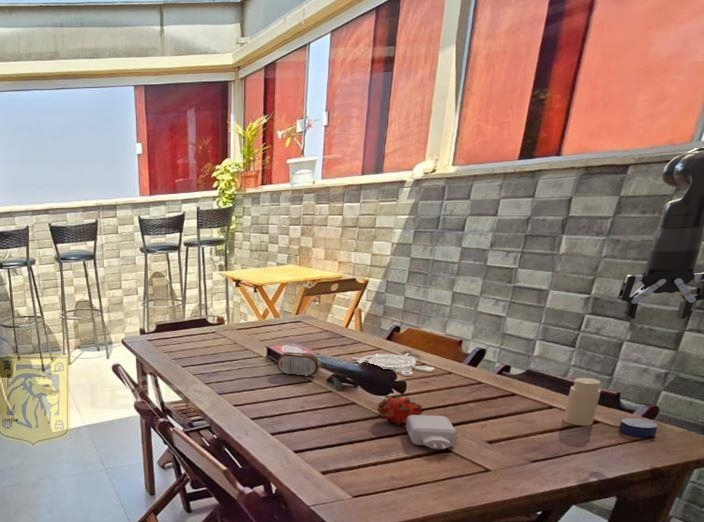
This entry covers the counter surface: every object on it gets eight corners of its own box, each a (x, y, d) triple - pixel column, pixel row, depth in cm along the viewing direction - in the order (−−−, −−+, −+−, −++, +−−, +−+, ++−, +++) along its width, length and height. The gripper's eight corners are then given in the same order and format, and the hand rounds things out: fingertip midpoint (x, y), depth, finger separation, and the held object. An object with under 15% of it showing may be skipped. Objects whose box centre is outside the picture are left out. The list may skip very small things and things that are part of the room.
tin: (319, 375, 181) (320, 353, 178) (316, 378, 179) (317, 356, 176) (278, 371, 190) (279, 351, 187) (276, 374, 188) (276, 353, 185)
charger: (416, 455, 119) (405, 430, 132) (461, 458, 116) (445, 432, 129) (418, 438, 118) (407, 414, 131) (464, 440, 114) (448, 416, 127)
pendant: (404, 352, 195) (404, 349, 195) (442, 373, 169) (442, 370, 169) (348, 357, 198) (348, 353, 198) (376, 378, 172) (377, 374, 172)
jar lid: (630, 437, 117) (633, 428, 116) (612, 427, 122) (614, 418, 121) (662, 437, 115) (665, 427, 114) (642, 427, 121) (644, 417, 120)
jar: (564, 415, 131) (574, 376, 127) (593, 420, 127) (604, 379, 123) (561, 422, 127) (570, 382, 123) (591, 427, 123) (602, 385, 119)
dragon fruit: (371, 426, 140) (416, 431, 138) (382, 419, 132) (431, 425, 130) (371, 398, 142) (416, 402, 140) (383, 390, 134) (431, 394, 132)
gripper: (638, 251, 111) (620, 321, 117) (731, 246, 105) (707, 321, 110) (625, 248, 117) (608, 315, 123) (711, 243, 111) (689, 314, 116)
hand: (655, 318), depth 117 cm, fingers open, 8 cm apart
